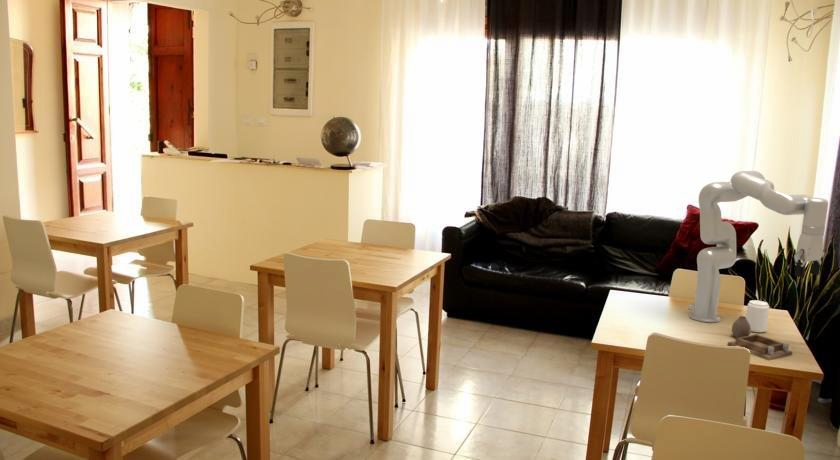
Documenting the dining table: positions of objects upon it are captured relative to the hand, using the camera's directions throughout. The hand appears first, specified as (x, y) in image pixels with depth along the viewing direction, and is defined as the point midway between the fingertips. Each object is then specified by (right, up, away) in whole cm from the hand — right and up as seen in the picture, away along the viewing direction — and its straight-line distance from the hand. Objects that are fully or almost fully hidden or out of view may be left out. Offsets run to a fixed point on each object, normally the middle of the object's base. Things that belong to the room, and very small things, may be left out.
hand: (806, 275), depth 276 cm
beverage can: (-6, -25, +29) cm, 39 cm away
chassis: (-16, -29, +4) cm, 33 cm away
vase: (-17, -27, +18) cm, 37 cm away
